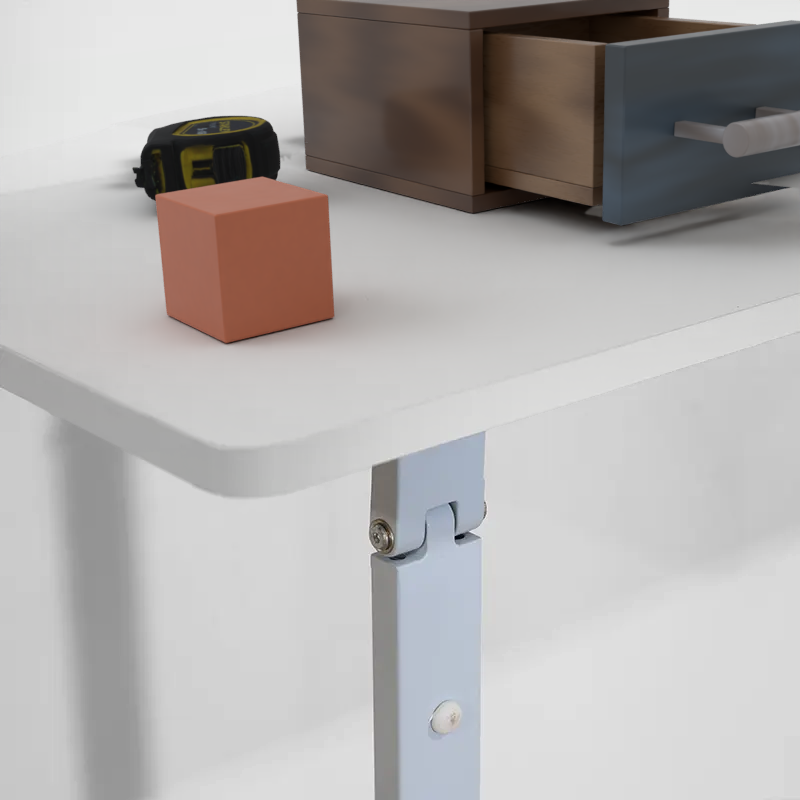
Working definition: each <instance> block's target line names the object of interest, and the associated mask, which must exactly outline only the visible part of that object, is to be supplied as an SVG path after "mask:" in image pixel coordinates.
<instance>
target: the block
mask: <svg viewBox="0 0 800 800" xmlns="http://www.w3.org/2000/svg"><path fill="white" fill-rule="evenodd" d="M155 198H156V201H155V208H156V218H157V225H158V226H157V228H158V229H157V230H158V238H159V247H160V249H159V250H160V258H161V259H160V260H161V267H162V268H161V269H162V278H163V279H162V280H163V290H164V298H165V299H164V300H165V310H166V315H167V316H169V317H171V318H173V319H175V320H177V321H179V322H181V323H183V324H185V325H187V326H190V327H191V328H194V329H196V330H198V331H200V332H202V333H204V334H206V335H208V336H210V337H212V338H214V339H216V340H219V341H220V342H223V343H224V344H228V343H232V342H237V341H241V340H245V339H249V338H253V337H257V336H261V335H266V334H271V333H275V332H278V331H283V330H287V329H291V328H295V327H299V326H300V327H301V326H303V325H308V324H312V323H317V322H321V321H324V320H330V319H333V318H335V301H334V281H333V264H332V261H333V260H332V241H331V226H330V225H331V224H330V223H331V222H330V206H329V195H328V194H326V193H322V192H318V191H314V190H311V189H308V188H305V187H301V186H297V185H294V184H290V183H287V182H284V181H280V180H277V179H276V180H273V179H269V178H266V177H257V178H251V179H245V180H239V181H234V182H228V183H222V184H216V185H210V186H204V187H198V188H192V189H186V190H180V191H174V192H168V193H162V194H157V195H156V196H155Z"/></svg>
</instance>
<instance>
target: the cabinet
mask: <svg viewBox="0 0 800 800" xmlns="http://www.w3.org/2000/svg"><path fill="white" fill-rule="evenodd" d="M295 3H296V12H297V13H296V16H297V32H298V33H297V34H298V36H297V37H298V50H299V51H298V52H299V67H300V68H299V69H300V84H301V85H300V86H301V104H302V119H303V137H304V151H305V152H304V153H305V156H304V158H305V170H307V171H311V172H314V173H319V174H322V175H325V176H330V177H333V178H337V179H341V180H345V181H349V182H352V183H357V184H360V185H364V186H368V187H370V188H375V189H378V190H379V189H380V190H383V191H387V192H391V193H395V194H398V195H402V196H406V197H410V198H413V199H417V200H421V201H425V202H429V203H432V204H436V205H440V206H444V207H448V208H452V209H455V210H459V211H463V212H466V213H470V214H474V213H479V212H481V213H482V212H485V211H490V210H495V209H499V208H505V207H510V206H515V205H519V204H520V205H521V204H524V203H530V202H534V201H539V200H544V199H550V198H551V197H550V196H546V195H541V194H537V193H533V192H528V191H524V190H520V189H515V188H511V187H507V186H502V185H498V184H494V183H490V182H485V172H484V94H483V30H482V28H491V27H500V26H509V25H518V24H527V23H535V22H544V21H553V20H562V19H571V18H580V17H589V16H598V15H607V14H628V15H641V16H654V17H667V18H670V0H296V2H295Z"/></svg>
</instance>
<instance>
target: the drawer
mask: <svg viewBox="0 0 800 800" xmlns="http://www.w3.org/2000/svg"><path fill="white" fill-rule="evenodd" d="M482 30H483V94H484V172H485V182H490V183H494V184H498V185H502V186H507V187H511V188H515V189H520V190H524V191H528V192H533V193H537V194H541V195H546V196H550V198H555V199H558V200H563V201H567V202H572V203H576V204H580V205H585V206H590V207H596V206H602V207H601V209H602V211H601V212H602V213H601V216H602V218H601V220H602V222H605V223H609V224H613V225H618V226H620V227H621V226H625V225H630V224H634V223H640V222H643V221H649V220H652V219H656V218H662V217H666V216H670V215H673V214H674V215H675V214H678V213H679V214H680V213H683V212H688V211H692V210H697V209H701V208H706V207H710V206H715V205H718V204H723V203H729V202H733V201H737V200H741V199H745V198H750V197H755V196H758V195H764V194H768V193H772V192H777V191H781V190H786V189H790V188H791V186H785V185H774V184H773V185H772V184H763V183H761V184H760V183H759V182H765V181H768V180H769V181H770V180H774V179H778V178H782V177H787V176H793V175H796V174H800V20H793V19H791V20H784V21H776V22H769V23H759V24H756V23H745V22H744V23H743V22H733V21H719V20H706V19H695V18H694V19H693V18H679V17H669V18H667V17H654V16H641V15H628V14H607V15H598V16H589V17H580V18H571V19H562V20H553V21H544V22H535V23H527V24H518V25H509V26H500V27H491V28H482Z"/></svg>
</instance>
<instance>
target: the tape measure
mask: <svg viewBox="0 0 800 800" xmlns="http://www.w3.org/2000/svg"><path fill="white" fill-rule="evenodd" d="M139 157H140V165H139V167H138V166H137V167H135V166H133V167H132V173H133V174H135V179H134V184H135V186H136V188H139V189H144V192H145V194H146V195H147V197H148V198H150V199H151V200H152V201H155V202H156V198H155V196H156V195H157V194H162V193H168V192H174V191H180V190H186V189H192V188H198V187H204V186H210V185H216V184H222V183H228V182H234V181H239V180H245V179H251V178H257V177H266V178H269V179H273V180H276V181H277V180H278V176H279V171H280V170H281V151H280V143H279V138H278V134H277V132H275V131H274V127H273V125H272V124H271V122H269V121H268V120H266V119H264V118H262V117H259V116H251V115H217V116H216V115H215V116H208V117H201V118H195V119H189V120H184V121H179V122H174V123H171V124H168V125H164V126H161V127H157V128H153V129H152V131H150V133H149V134H148V136H147V140H146V143H145V144H144V145H143V148H142V150H141V153H140V156H139Z"/></svg>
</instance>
